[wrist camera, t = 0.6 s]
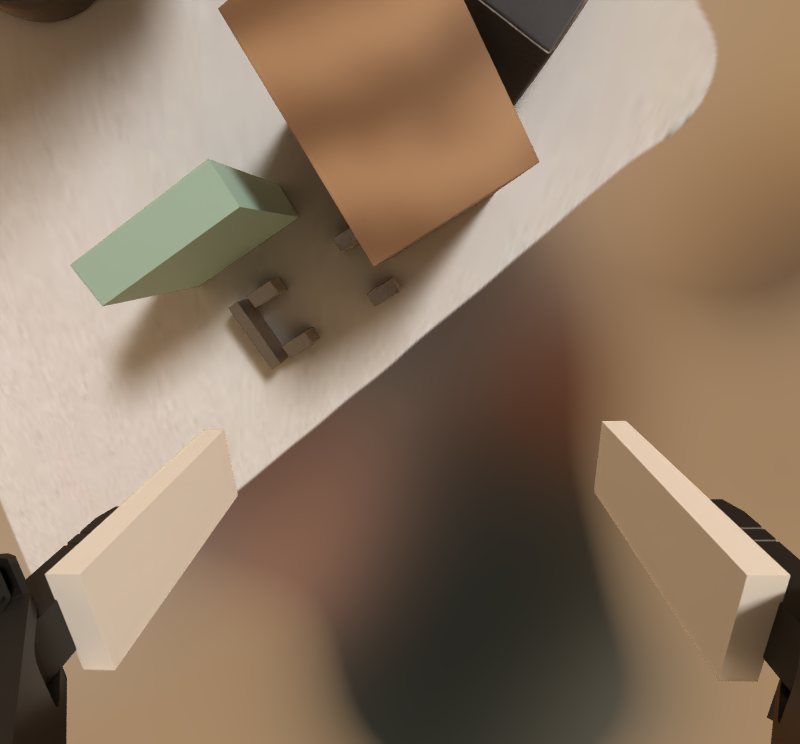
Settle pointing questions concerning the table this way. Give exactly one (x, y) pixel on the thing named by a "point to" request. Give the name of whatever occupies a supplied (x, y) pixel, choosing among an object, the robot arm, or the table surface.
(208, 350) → the table surface
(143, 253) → the door
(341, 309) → the table surface
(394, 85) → the cabinet
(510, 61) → the small box
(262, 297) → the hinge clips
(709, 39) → the table surface
